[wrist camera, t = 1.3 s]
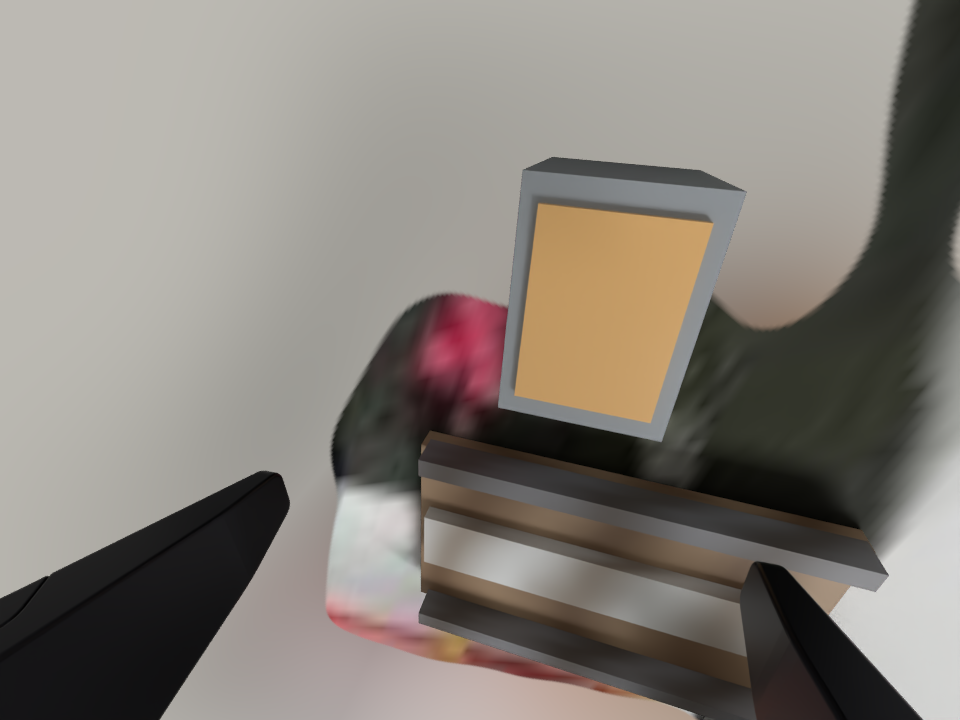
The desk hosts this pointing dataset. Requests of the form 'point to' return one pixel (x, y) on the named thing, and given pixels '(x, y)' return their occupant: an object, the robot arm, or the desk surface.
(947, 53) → the desk surface
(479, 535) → the rail board
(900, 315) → the desk surface
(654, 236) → the module
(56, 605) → the robot arm
